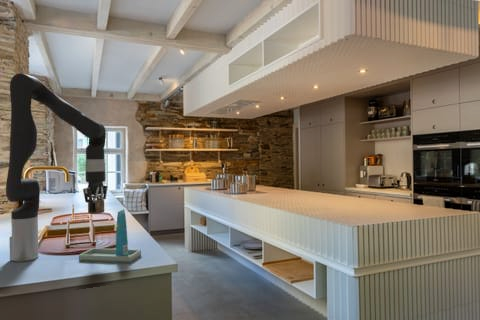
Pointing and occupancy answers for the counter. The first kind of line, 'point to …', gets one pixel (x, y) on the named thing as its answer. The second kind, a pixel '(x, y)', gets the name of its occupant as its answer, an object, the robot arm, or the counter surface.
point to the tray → (108, 256)
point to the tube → (121, 235)
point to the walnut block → (98, 207)
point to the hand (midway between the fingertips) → (96, 211)
